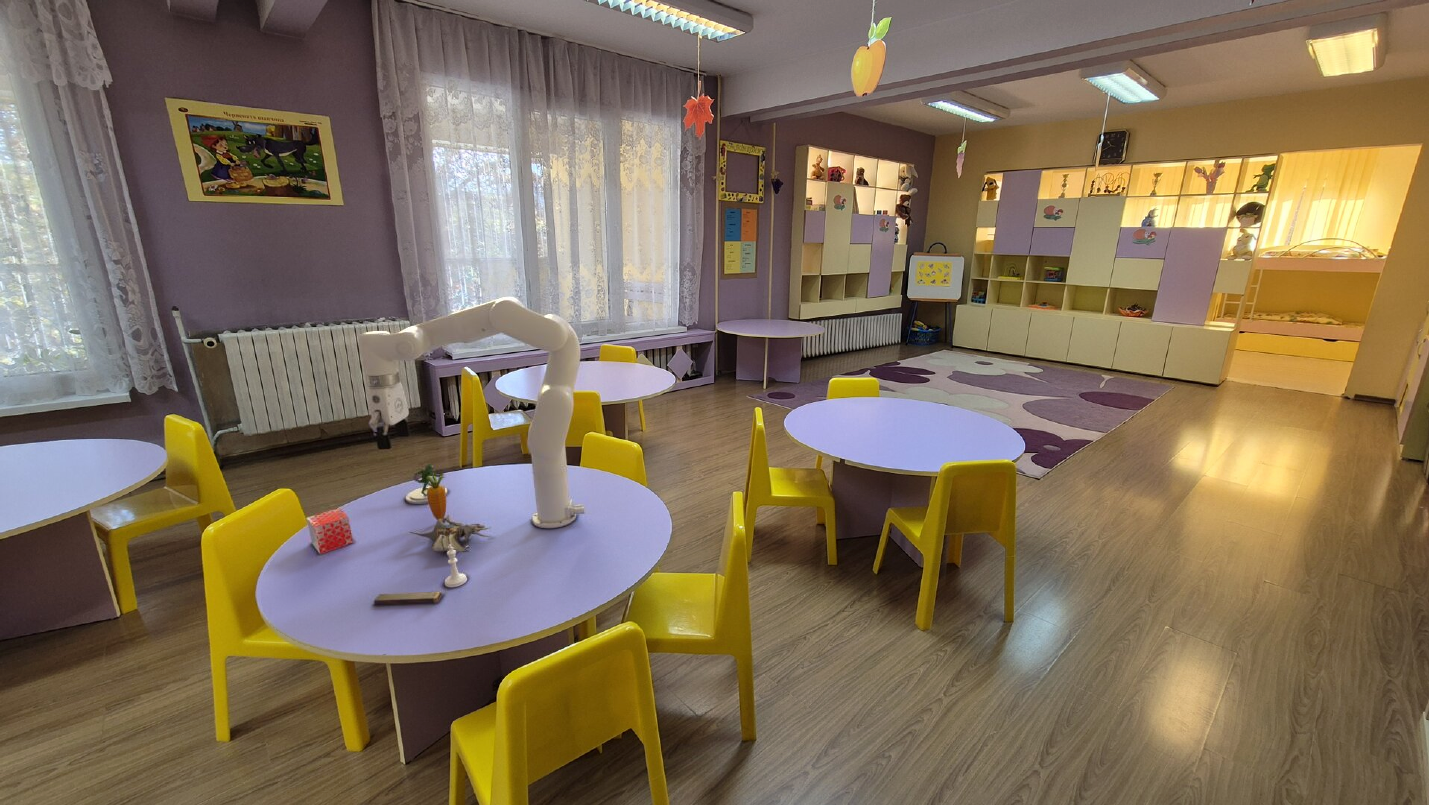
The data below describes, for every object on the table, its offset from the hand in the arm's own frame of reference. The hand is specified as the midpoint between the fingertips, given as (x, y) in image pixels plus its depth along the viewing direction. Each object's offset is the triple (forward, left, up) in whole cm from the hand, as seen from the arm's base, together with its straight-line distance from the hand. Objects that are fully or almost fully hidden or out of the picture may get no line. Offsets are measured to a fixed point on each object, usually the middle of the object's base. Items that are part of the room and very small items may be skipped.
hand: (394, 442), depth 151 cm
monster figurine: (+7, -27, -28) cm, 40 cm away
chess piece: (-21, +23, -28) cm, 42 cm away
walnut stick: (-13, +30, -28) cm, 43 cm away
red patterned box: (+20, +2, -28) cm, 35 cm away
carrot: (-5, -8, -28) cm, 30 cm away
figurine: (-14, +6, -28) cm, 32 cm away
